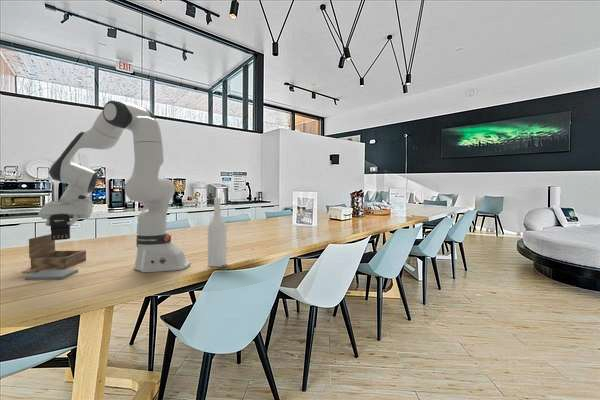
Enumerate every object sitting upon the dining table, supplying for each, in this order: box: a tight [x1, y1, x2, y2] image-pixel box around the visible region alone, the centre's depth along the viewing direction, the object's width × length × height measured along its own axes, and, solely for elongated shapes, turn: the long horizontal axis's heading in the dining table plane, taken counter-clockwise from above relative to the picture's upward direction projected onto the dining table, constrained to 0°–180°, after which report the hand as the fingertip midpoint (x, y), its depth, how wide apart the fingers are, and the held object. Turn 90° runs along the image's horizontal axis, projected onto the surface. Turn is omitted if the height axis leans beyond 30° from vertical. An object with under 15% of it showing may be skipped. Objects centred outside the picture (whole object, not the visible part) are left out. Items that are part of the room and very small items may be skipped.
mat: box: [24, 269, 79, 281], centre depth 120 cm, size 13×10×1 cm
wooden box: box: [21, 233, 87, 273], centre depth 134 cm, size 14×20×12 cm
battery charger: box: [49, 213, 71, 241], centre depth 136 cm, size 7×4×11 cm, turn 119°
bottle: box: [207, 197, 227, 267], centre depth 139 cm, size 8×8×30 cm
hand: (58, 224), depth 135 cm, fingers closed on battery charger, 7 cm apart
